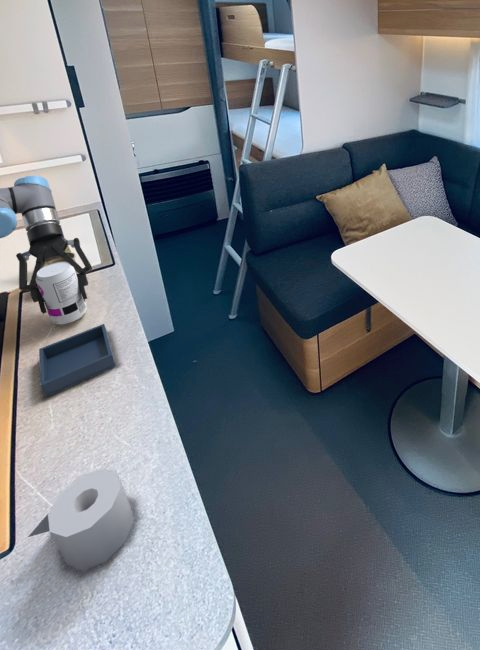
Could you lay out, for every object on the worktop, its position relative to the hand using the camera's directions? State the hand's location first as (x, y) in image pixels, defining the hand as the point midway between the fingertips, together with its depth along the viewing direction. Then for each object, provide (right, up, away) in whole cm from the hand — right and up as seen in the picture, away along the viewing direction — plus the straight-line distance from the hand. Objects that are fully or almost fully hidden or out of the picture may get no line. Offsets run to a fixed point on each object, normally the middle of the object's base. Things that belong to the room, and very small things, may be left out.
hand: (65, 304), depth 107 cm
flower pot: (-15, 0, +20) cm, 25 cm away
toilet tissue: (+36, -24, -42) cm, 60 cm away
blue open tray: (+11, -11, -9) cm, 18 cm away
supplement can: (-2, -4, +5) cm, 7 cm away
